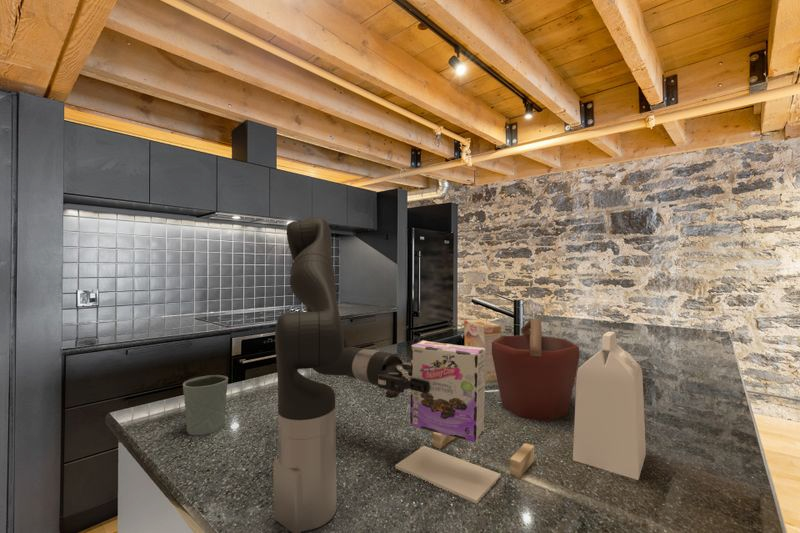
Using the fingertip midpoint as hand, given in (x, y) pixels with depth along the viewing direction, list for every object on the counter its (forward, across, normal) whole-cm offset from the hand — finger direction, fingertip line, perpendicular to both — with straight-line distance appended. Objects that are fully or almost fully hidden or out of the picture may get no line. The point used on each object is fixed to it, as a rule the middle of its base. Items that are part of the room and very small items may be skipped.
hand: (438, 382), depth 73 cm
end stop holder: (+4, +11, +17) cm, 21 cm away
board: (+2, 0, +17) cm, 17 cm away
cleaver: (-43, +35, +19) cm, 59 cm away
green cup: (-57, -20, +18) cm, 63 cm away
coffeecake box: (-21, +62, +18) cm, 68 cm away
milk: (+26, +26, +17) cm, 41 cm away
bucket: (+5, +43, +18) cm, 47 cm away
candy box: (+2, 0, +9) cm, 9 cm away
